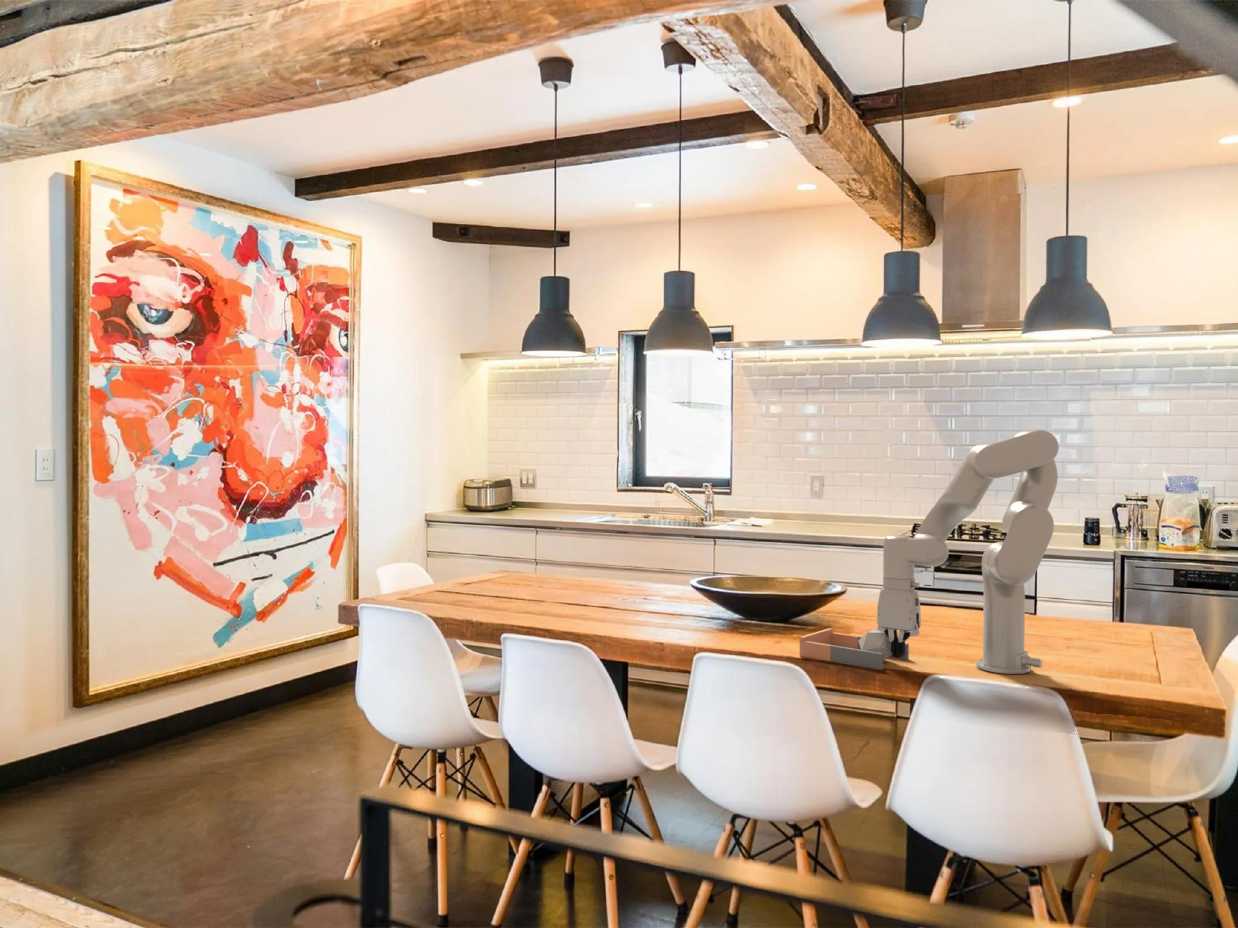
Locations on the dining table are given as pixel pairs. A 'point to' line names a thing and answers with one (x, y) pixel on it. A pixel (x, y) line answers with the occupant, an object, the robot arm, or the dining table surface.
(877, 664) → the two-tone shallow tray
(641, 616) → the dining table surface
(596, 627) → the dining table surface
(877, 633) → the die
